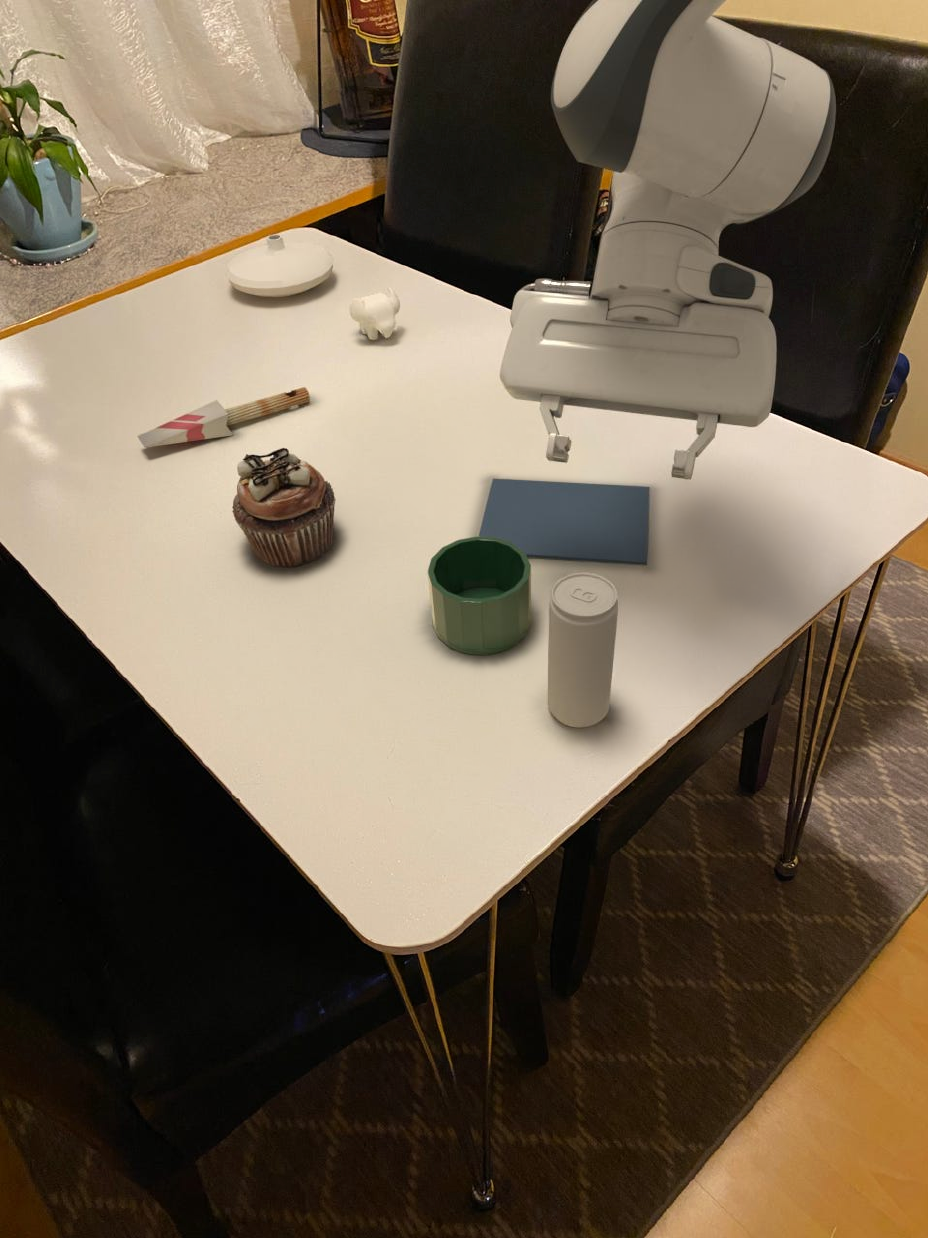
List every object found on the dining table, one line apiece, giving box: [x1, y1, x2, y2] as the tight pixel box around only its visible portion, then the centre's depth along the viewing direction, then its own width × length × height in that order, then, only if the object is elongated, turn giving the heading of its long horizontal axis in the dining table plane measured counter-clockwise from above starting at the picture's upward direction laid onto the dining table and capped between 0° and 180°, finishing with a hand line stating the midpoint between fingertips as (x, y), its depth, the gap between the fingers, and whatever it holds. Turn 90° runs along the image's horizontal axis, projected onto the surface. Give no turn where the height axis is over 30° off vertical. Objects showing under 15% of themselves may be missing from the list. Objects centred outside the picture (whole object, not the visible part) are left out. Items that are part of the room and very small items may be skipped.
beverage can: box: [547, 572, 619, 728], centre depth 66 cm, size 5×5×12 cm
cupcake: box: [231, 447, 337, 568], centre depth 84 cm, size 10×10×10 cm
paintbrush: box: [136, 386, 311, 448], centre depth 103 cm, size 4×3×20 cm
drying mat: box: [478, 478, 650, 566], centre depth 88 cm, size 16×12×1 cm
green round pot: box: [427, 535, 532, 656], centre depth 76 cm, size 8×8×6 cm
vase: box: [225, 233, 334, 298], centre depth 130 cm, size 16×16×7 cm
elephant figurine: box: [349, 287, 401, 341], centre depth 117 cm, size 7×8×6 cm
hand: (617, 468), depth 67 cm, fingers open, 8 cm apart
